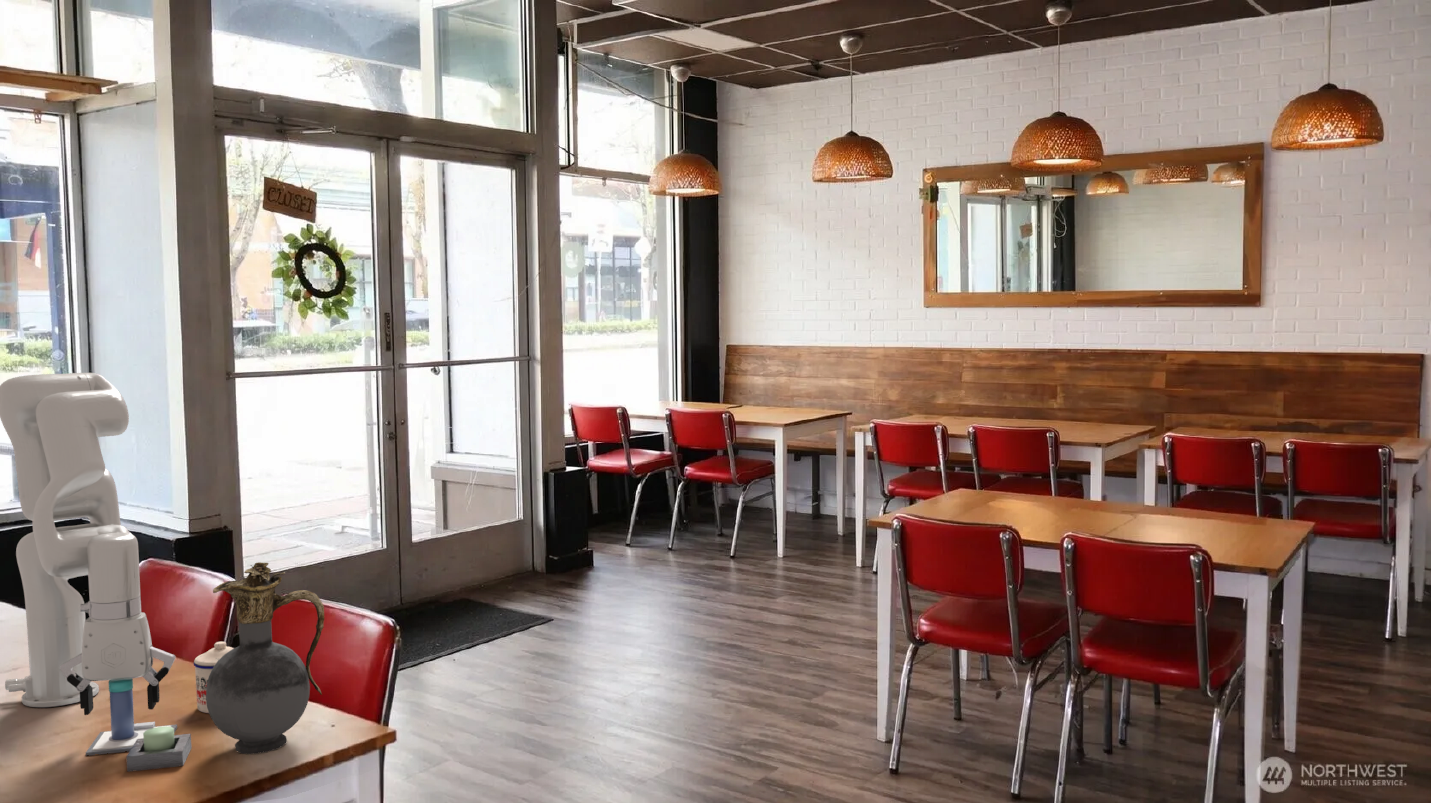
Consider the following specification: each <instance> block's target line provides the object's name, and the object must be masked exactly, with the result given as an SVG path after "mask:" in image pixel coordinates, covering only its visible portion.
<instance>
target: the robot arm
mask: <svg viewBox="0 0 1431 803" xmlns="http://www.w3.org/2000/svg"><path fill="white" fill-rule="evenodd" d="M129 416H130V413H129V409H128V406H127V404H126V401H125V399H124V397H123V395H122V394H121V393H120V391H119V390H118V389H117V388H116V387H115V386H114V385H113V384H112V383H111V382H110V381H108V380H107V379H106V378H105V377H104V376H103V375H101V374H99V373H96V372H95V373H94V372H72V373H71V372H69V373H67V372H66V373H49V374H48V373H47V374H45V373H43V374H42V373H41V374H28V375H21V376H15V377H12V378H9V379H7V380H5V381H3V382H2V383H1V384H0V421H1V423H2V426H3V428H4V429H5V430H4V431H5V432H6V433H7V436H8V439H9V441H10V444H11V446H12V448H13V453H14V461H15V469H16V472H15V473H16V479H17V488H18V489H17V490H18V497H19V504H20V509H21V511H22V513H23V516H24V517H25V518H26V519H27V520H29V521H32V532H30V533H27V534H26V535H24V536H23V537H21V539H20V540H19V541H18V543H17V545H16V551H15V556H16V562H17V566H18V570H19V574H20V578H21V583H22V589H23V595H24V604H25V605H24V606H25V619H26V635H27V650H28V665H29V667H28V668H29V675H28V676H24V678H12V679H8V678H7V679H5V683H4V689H5V690H6V691H8V692H9V693H15V692H20V691H23V694H22V696H21V703H22V704H23V705H24V706H26V707H30V708H53V707H60V706H66V705H71V704H76V703H79V706H80V709H83V714H84V716H88V715H91V712H92V711H93V709H94V696H96V695H98V693H99V692H100V687H99V684H98V683H96V682H100V681H101V682H102V681H109V680H117V679H130V678H133V679H137V678H144V680H146V681H147V682H148V686H147V687H146V694H147V709H148V710H154V708H155V707H156V705H157V703H159V702H160V682H161V681H162V680H163V679H164V678H165V677H166V676H167V675H168V674H169V672H170V670H171V668H172V667H173V664H174V663H175V660H176V655H175V654H174V653H173V654H172V653H170V652H167V651H165V650H162V649H160V648H156V647H154V646H153V644H152V636H151V632H150V631H151V630H150V626H149V621H148V618H147V614H146V613H145V612H142V600H141V582H140V581H141V580H140V579H141V578H140V557H139V542H138V538H137V537H136V536H135V535H134V534H132V533H131V532H130V531H129V529H127V527H125V526H124V525H122V524H121V516H120V506H119V498H118V491H117V486H116V482H115V480H114V478H113V475H112V473H111V472H110V471H109V470H108V469H107V468H106V463H105V461H104V456H103V454H102V449H101V446H100V442H99V439H98V438H102V437H114V436H120V435H123V433H125V432H126V431H127V428H128V426H129V422H130V421H129ZM79 518H87V519H88V520H89V523H85V524H77V525H67V526H58V527H56V525H55V521H60V520H68V519H69V520H71V519H79ZM83 576H84V577H85V576H87V577H88V593H89V600H88V601H87V602H85V601H84V598H83V596H82V595H81V594H80V592H79V591H78V590H77V589H75V588H74V587H73V586H72V585H70V583H69V582H68V581H69V579H74V578H77V577H83ZM86 613H87V614H88V616H89V617H88V618H86ZM154 659H155V660H156V659H157V660H159V661H162V662H163V665H162V667H161V668H160V669H159V670H158V671H157V670H156V669H155V668H154V667H153V665H154Z"/></svg>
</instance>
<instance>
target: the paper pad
mask: <svg viewBox="0 0 1431 803" xmlns="http://www.w3.org/2000/svg"><path fill="white" fill-rule="evenodd" d="M156 727H172V728H174V734H175V732H176V731H177V729H178V724H169V725H168V724H167V725H157V726H156V721H148V722H138V723H137V722H136V723H134V736H133V737H131V738H128V739H123V740H113V739H112V734H111V730H106V731H100V732H99V733H98V734H97V736H96V737H95V739H94V740H93V742H92V743H91V744H90V746H89V747H88V749H87V750H86V751H85V756H86V757H88V756H87V755H89V756H96V755H95V754H99V755H106V754H107V753H108V754H115V753H125V751H127V753H129V752H130V750H131V748H132V747H133V745H134V743H135V742H136V740H137V739H142V738H144V736H143V733H144V732H145V731H147V730H149V729H152V728H156Z"/></svg>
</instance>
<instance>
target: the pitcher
mask: <svg viewBox="0 0 1431 803" xmlns="http://www.w3.org/2000/svg"><path fill="white" fill-rule="evenodd" d="M268 566H269V562H261V561H260V562H256V563H254V565H250V567H251V568H248V569H246V570H245V571H244V572H243V573H245V574H248V575H247V576H246V577H245V578H244V579H242V580H241V579H240V580H229V581H225V582H223V583H220V584H219V585H216V586H215V587H214V588H213V590H212V592H213V594H215V593H217V594H218V593H219V592H226V593H227V594H229V595H230V596H231V598H232V599H234V602H235V604H236V620H237V622H238V633H239V634H238V635H239V645H238V646H237V647H233V648H234V649H232V650H231V651H229V652H228V653H226V654H225V655H223V656H222V657H221V658H220V659H219V660H218V661H217V663H216V664H215V666H214V667H213V669H212V671H211V673H210V675H209V678H208V682H207V686H206V703H207V708H208V711H209V713H208V714H209V716H210V719H211V720H212V722H213V723H214V725H215V726H216V728H217V729H218V730H219V731H221V733H223V734H225V735H226V736H228V737H230V738H232V739H235V740H237V741H236V742H235V743H234V748H235V751H236V752H237V753H239V754H246V755H254V754H255V755H256V754H262V753H268V751H269V752H272V751H275V750H278V749H279V748H280V749H281V748H282V747H284V746H285V745H286V744H287V742H288V740H287V739H288V738H287V736H286V735H285V733H286V732H288V731H289V730H290V729H292V728H293V727H294V726H295V725H296V724H297V722H298V721H299V720H300V719H301V717H302V716H303V714H304V713H305V710H306V709H307V706H308V703H309V699H310V693H311V692H310V691H311V684H312V686H313V687H314V689H315V690H316V691H317V692H318V693H319V694H320V695H323V694H322V691H321V689H320V687H319V686H318V685H317V684H316V682H315V680H314V679H313V676H312V675H311V674H312V673H311V670H310V669H311V668H310V665H311V660H312V657H313V654H314V652H315V650H316V648H317V645H318V642H319V641H320V638H321V635H322V631H323V629H324V625H325V624H324V623H325V606H324V604H323V602H322V599H320V597H319V595H318V594H316V593H315V592H312V591H310V590H304V589H301V590H300V589H299V590H295V591H290V592H289V593H287V594H285V595H279V594H278V593H277V592H276V590H275V589H276V588H277V587H278V585H280V584H281V582H282V576H281V575H285V574H286V572H285V571H283V572H275V573H273V574H272V575H271V576H270V574H271V573H272V569H271V568H270V567H268ZM278 575H280V576H278ZM300 600H304V601H309V602H310V603H312V604H313V606H314V608H315V610H316V614H317V615H316V616H317V620H316V625H315V629H316V631H315V635H314V637H313V638H312V639H313V640H312V642H311V645H310V648H309V650H308V652H307V655H306V659H305V663H304V662H303V660H302V658H301V657H300V656H299V655H298V654H297V653H296V651H294V650H293V649H291V647H288V646H286V645H284V644H281V643H277V642H274V641H273V634H272V633H273V631H272V628H273V627H272V620H273V618H274V612H275V611H276V610H277V609H279V608H281V607H282V606H286V605H288V604H290V603H292V602H294V601H300ZM310 683H311V684H310Z"/></svg>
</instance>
